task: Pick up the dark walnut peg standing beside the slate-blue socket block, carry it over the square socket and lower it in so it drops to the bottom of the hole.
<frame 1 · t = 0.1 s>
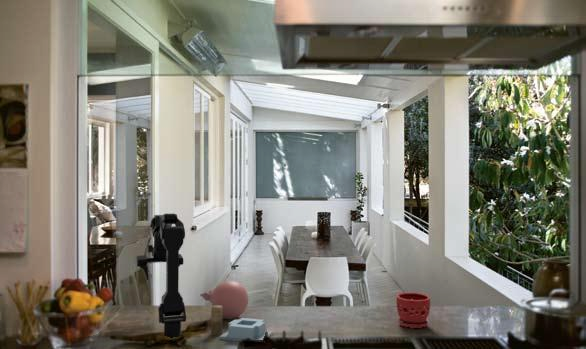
hand: (158, 279, 213), 15 cm above the kitchen counter, tool pointing down, fingers open, 9 cm apart
socket block: (246, 336, 184), on the kitchen counter
balloon: (223, 318, 211), on the kitchen counter
walnut peg: (216, 333, 188), on the kitchen counter
plant pot: (413, 326, 201), on the kitchen counter
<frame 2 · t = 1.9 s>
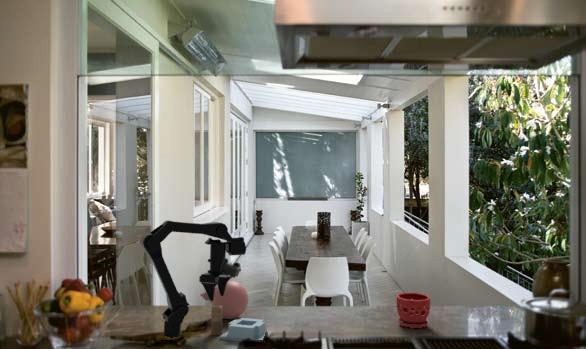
hand: (217, 298, 188), 13 cm above the kitchen counter, tool pointing down, fingers open, 9 cm apart
nothing on the kitchen counter moved.
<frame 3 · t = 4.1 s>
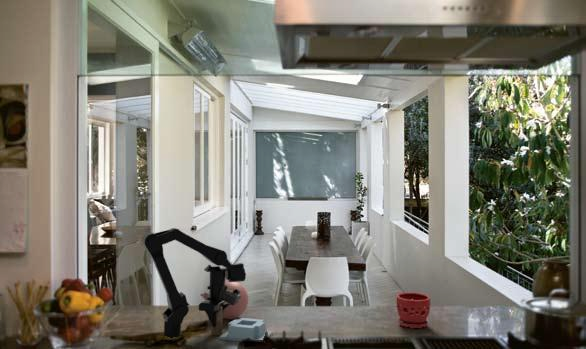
hand: (216, 325, 188), 3 cm above the kitchen counter, tool pointing down, fingers closed on walnut peg, 4 cm apart
walnut peg: (216, 333, 188), on the kitchen counter, touching gripper
everything else where it was.
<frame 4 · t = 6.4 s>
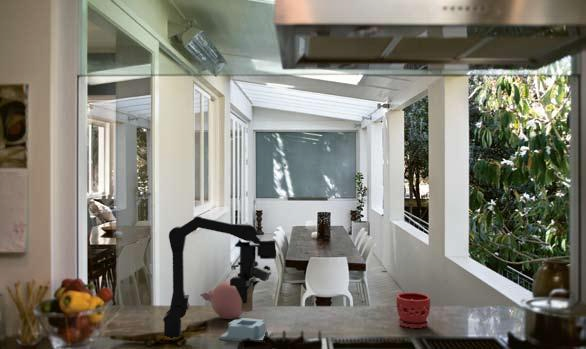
hand: (247, 302, 185), 12 cm above the kitchen counter, tool pointing down, fingers closed on walnut peg, 4 cm apart
walnut peg: (246, 310, 185), point 9 cm above the kitchen counter, touching gripper
everything else where it was.
when the fingers open (6 cm above the kitchen counter, at t = 8.8 s): walnut peg drops 2 cm, resting on socket block.
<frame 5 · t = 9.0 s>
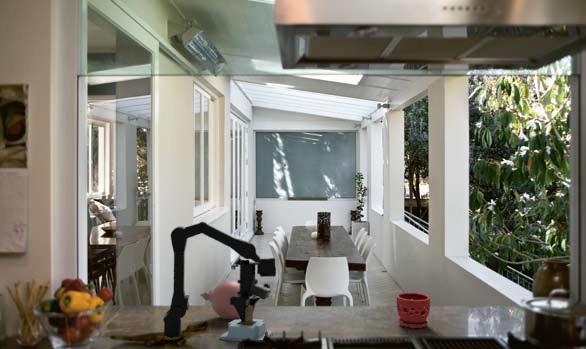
hand: (246, 320, 184), 6 cm above the kitchen counter, tool pointing down, fingers open, 6 cm apart
walnut peg: (246, 333, 184), point 1 cm above the kitchen counter, touching socket block
everything else where it was.
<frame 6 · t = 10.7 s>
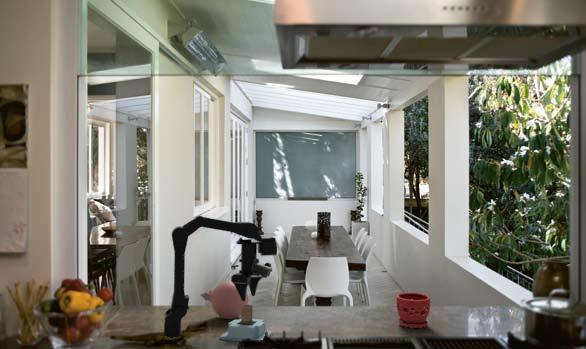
hand: (248, 298, 188), 13 cm above the kitchen counter, tool pointing down, fingers open, 9 cm apart
nothing on the kitchen counter moved.
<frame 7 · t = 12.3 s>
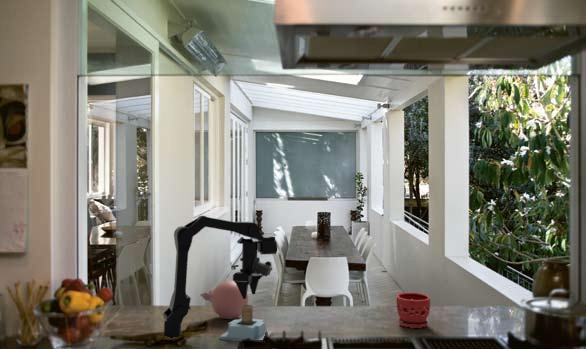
hand: (249, 296, 192), 13 cm above the kitchen counter, tool pointing down, fingers open, 9 cm apart
nothing on the kitchen counter moved.
at the end: walnut peg 0.0 cm off-centre on the socket block, point 1.0 cm above the socket block's base; walnut peg tilted 1°; the gripper is holding nothing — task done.
